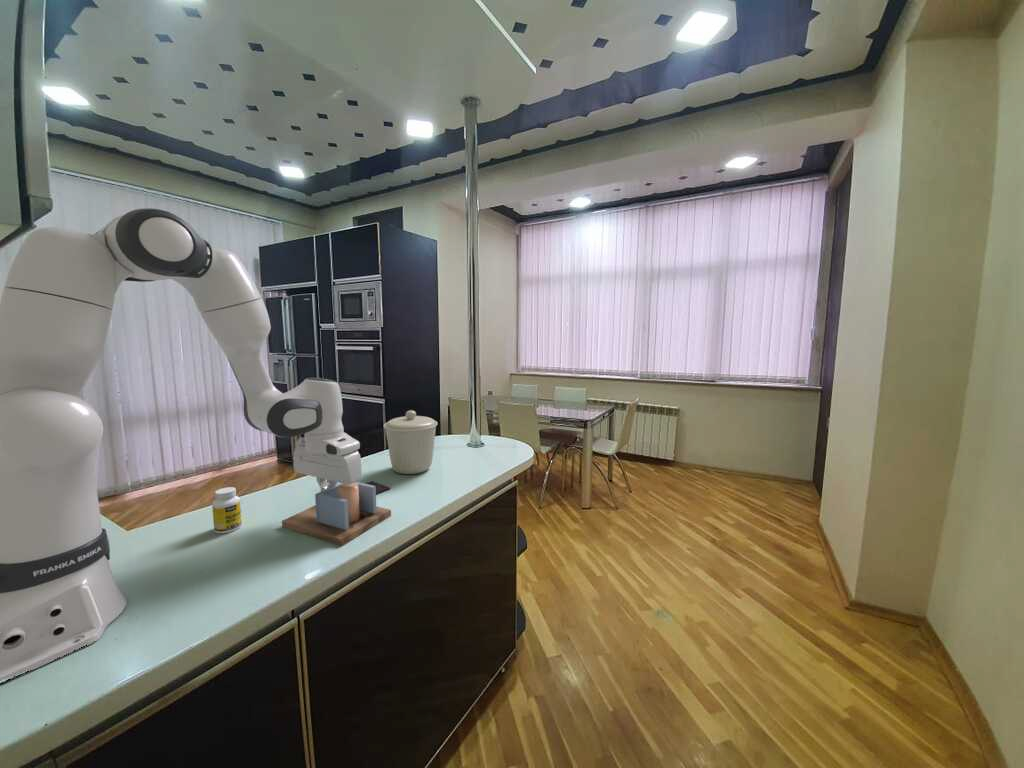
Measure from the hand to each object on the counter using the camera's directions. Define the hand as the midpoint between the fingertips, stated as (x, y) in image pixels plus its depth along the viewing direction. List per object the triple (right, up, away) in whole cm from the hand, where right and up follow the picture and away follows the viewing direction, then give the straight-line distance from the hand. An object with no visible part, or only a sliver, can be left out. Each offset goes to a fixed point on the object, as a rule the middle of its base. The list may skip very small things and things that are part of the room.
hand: (327, 493), depth 98 cm
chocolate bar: (+1, -5, +15) cm, 16 cm away
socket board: (+3, -7, -1) cm, 7 cm away
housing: (+6, -5, -2) cm, 8 cm away
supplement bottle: (-22, -7, -5) cm, 24 cm away
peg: (+7, -7, -2) cm, 10 cm away
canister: (+12, -2, +37) cm, 39 cm away
